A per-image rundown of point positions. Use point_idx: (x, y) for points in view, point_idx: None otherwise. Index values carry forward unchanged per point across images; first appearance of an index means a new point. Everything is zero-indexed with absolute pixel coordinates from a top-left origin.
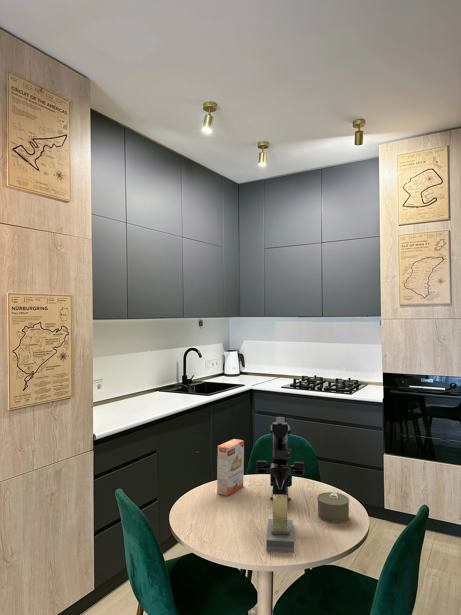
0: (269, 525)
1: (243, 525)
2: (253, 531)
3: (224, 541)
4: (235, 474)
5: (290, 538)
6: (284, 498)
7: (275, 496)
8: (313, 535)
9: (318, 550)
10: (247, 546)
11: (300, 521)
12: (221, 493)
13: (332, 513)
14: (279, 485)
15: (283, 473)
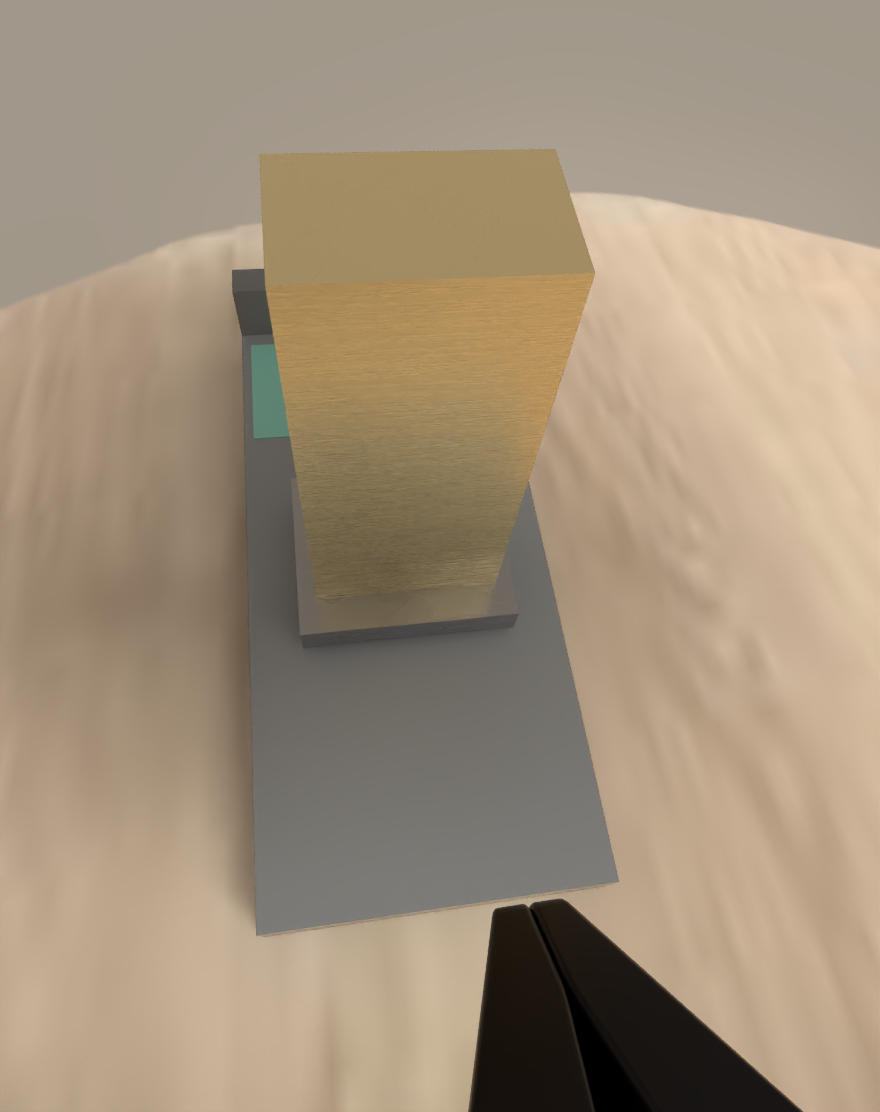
0: (552, 683)
1: (863, 734)
2: (700, 622)
3: (869, 405)
4: None
5: (277, 452)
6: (319, 155)
7: (515, 192)
8: (5, 677)
9: (13, 408)
10: (654, 369)
11: (137, 1071)
12: None
13: None
14: (580, 950)
15: None
